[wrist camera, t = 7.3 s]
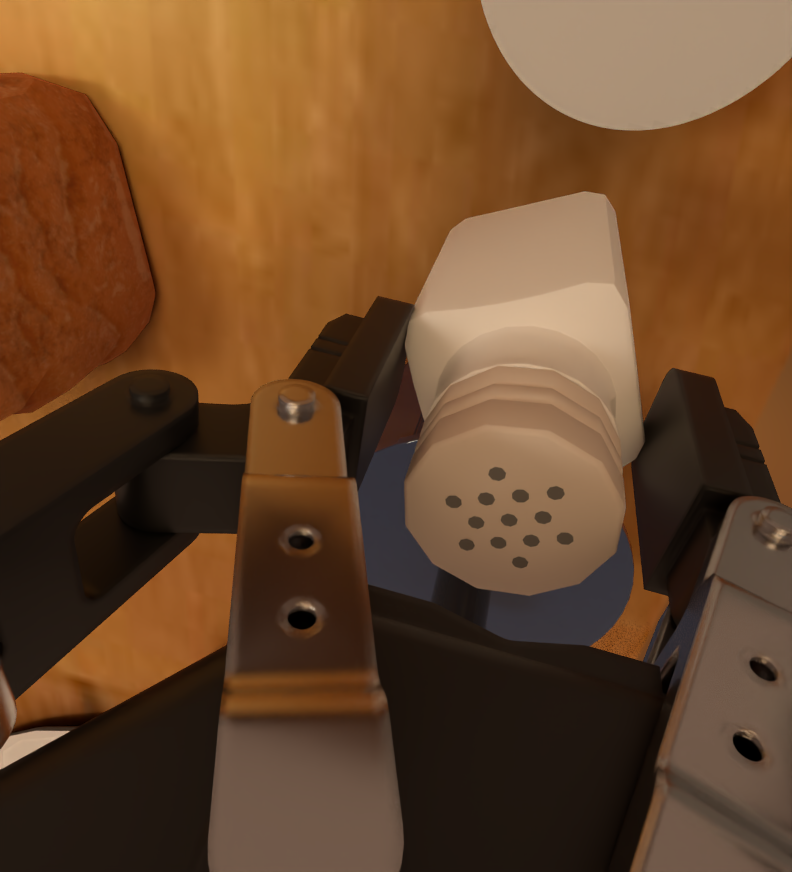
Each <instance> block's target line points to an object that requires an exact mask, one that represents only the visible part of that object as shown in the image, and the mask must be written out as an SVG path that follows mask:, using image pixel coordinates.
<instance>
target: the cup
mask: <svg viewBox="0 0 792 872" xmlns="http://www.w3.org/2000/svg"><path fill="white" fill-rule="evenodd" d="M481 3H482V7H483V11H484V14H485V17H486V20H487V23H488V25H489V28H490V30H491V33H492V35H493V37H494V40H495V42H496V43H497V45H498V47H499V49H500V51H501V53H502V55H503V56H504V58H505V59H506V61H507V63H508V64H509V66H510V67H511V68H512V70H513V71H514V72H515V74H516V75H517V76H518V77H519V78H520V80H521V81H522V82H523V83H524V84H525V85H526V86H527V87H528V88H529V89H530V90H531V91H532V92H533V93H534V94H535V95H537V96H538V97H539V98H540V99H541V100H543V101H544V102H545V103H547V104H548V105H550V106H551V107H553V108H554V109H556V110H558V111H560V112H561V113H563V114H565V115H567V116H569V117H571V118H574V119H576V120H579V121H581V122H584V123H587V124H590V125H594V126H598V127H603V128H609V129H615V130H651V129H659V128H665V127H671V126H675V125H679V124H683V123H686V122H689V121H692V120H695V119H698V118H701V117H703V116H706V115H708V114H711V113H713V112H715V111H717V110H719V109H721V108H723V107H725V106H727V105H729V104H731V103H733V102H734V101H736V100H738V99H740V98H741V97H743V96H744V95H746V94H747V93H749V92H750V91H752V90H753V89H755V88H756V87H757V86H759V85H760V84H761V83H763V82H764V81H765V80H767V79H768V78H769V77H770V76H772V75H773V74H774V73H775V72H776V71H778V70H779V69H780V68H781V67H782V66H783V65H784V64H785V63H786V62H787V61H788V60H789V59H790V58H792V0H481Z"/></svg>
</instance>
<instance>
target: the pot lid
mask: <svg viewBox="0 0 792 872" xmlns="http://www.w3.org/2000/svg"><path fill="white" fill-rule="evenodd" d="M419 438H420V433H419V434H415V435H410V436H406V437H402V438H398V439H395V440H393V441H390V442H387V443H385V444H382V445H379V446H378V447H377V448H376V450H375V452H374V455H373V457H372V460H371V462H370V464H369V467H368V469H367V472H366V474H365V476H364V479H363V481H362V483H361V486H360V488H359V491H358V501H359V510H360V518H361V527H362V536H363V545H364V554H365V563H366V572H367V581H368V584H369V585H373V586H376V587H380V588H383V589H387V590H390V591H394V592H397V593H401V594H405V595H408V596H412V597H415V598H419V599H422V600H426V601H429V602H433V603H436V604H438V605H440V606H441V607H443V608H445V609H447V610H449V611H451V612H453V613H455V614H457V615H459V616H461V617H463V618H465V619H467V620H469V621H471V622H472V623H474V624H476V625H478V626H480V627H482V628H484V629H486V630H488V631H490V632H492V633H494V634H496V635H498V636H500V637H502V638H504V639H508V640H512V641H524V642H540V643H556V644H572V645H586V646H591V645H592V644H593V643H595V642H596V641H597V640H599V639H600V638H601V637H603V636H604V635H605V634H606V633H607V632H608V631H609V630H610V629H611V628H612V627H613V626H614V624H615V623H616V621H617V620H618V619H619V617H620V616H621V614H622V613H623V611H624V609H625V607H626V604H627V602H628V600H629V598H630V594H631V590H632V586H633V577H634V562H633V554H632V547H631V543H630V540H629V537H628V533H627V530H626V528H625V526H624V524H622V528H621V533H620V537H619V542H618V547H617V551H616V553H615V554H614V555H613V556H611V557H610V558H609V559H608V560H607V561H606V562H604V563H603V564H602V565H601V566H600V567H598V568H597V569H596V570H595V571H594V572H593V573H591V574H590V575H589V576H588V577H587V578H586V579H584V580H583V581H582V582H581V583H580V584H577V585H573V586H568V587H564V588H560V589H556V590H551V591H547V592H543V593H538V594H534V595H530V596H528V595H521V594H514V593H507V592H500V591H493V590H486V589H479V588H476V587H474V586H472V585H470V584H468V583H467V582H465V581H463V580H461V579H459V578H458V577H456V576H454V575H452V574H450V573H449V572H447V571H445V570H443V569H441V568H440V567H438V566H436V565H434V564H433V563H432V562H431V561H430V559H429V558H428V556H427V555H426V554H425V552H424V551H423V549H422V548H421V547H420V545H419V544H418V542H417V541H416V540H415V538H414V537H413V535H412V534H411V533H410V531H409V530H408V528H407V527H406V525H405V498H404V480H405V477H406V474H407V471H408V468H409V465H410V463H411V460H412V457H413V454H414V453H415V448H416V445H417V442H418V439H419Z"/></svg>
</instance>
